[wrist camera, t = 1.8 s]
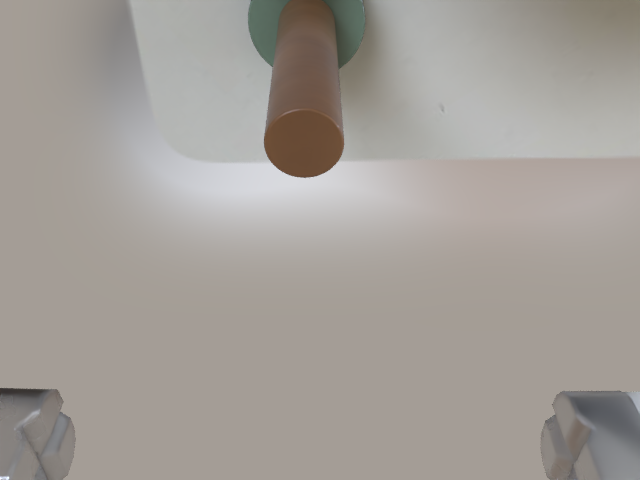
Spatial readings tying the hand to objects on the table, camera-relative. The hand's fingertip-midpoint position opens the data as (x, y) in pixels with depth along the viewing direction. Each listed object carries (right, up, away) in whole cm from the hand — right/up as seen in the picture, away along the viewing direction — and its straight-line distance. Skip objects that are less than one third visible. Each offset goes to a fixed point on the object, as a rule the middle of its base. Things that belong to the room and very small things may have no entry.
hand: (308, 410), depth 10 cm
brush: (0, +13, +17) cm, 22 cm away
